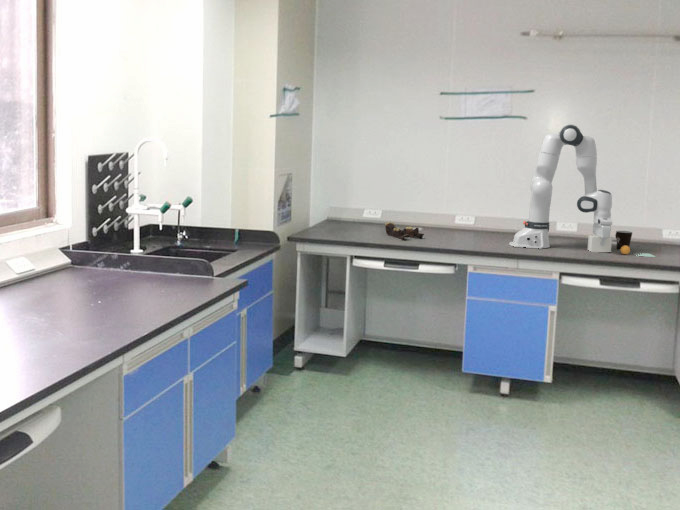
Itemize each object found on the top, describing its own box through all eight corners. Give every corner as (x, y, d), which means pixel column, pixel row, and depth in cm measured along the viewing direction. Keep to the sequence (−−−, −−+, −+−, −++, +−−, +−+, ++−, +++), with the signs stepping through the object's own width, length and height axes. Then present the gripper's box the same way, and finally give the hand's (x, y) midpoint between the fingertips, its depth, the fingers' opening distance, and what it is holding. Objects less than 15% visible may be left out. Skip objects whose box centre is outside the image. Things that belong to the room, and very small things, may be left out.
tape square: (637, 256, 426) (637, 256, 426) (631, 253, 436) (631, 252, 436) (655, 257, 426) (655, 256, 426) (649, 253, 436) (649, 253, 436)
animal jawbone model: (404, 238, 484) (408, 222, 483) (425, 247, 463) (429, 230, 462) (380, 233, 476) (384, 217, 475) (400, 242, 455) (405, 225, 453)
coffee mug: (631, 250, 445) (633, 233, 443) (615, 249, 446) (617, 232, 445) (628, 247, 456) (630, 230, 454) (613, 246, 458) (614, 229, 456)
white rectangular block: (590, 252, 435) (592, 236, 434) (587, 250, 442) (588, 234, 441) (610, 252, 435) (612, 237, 434) (606, 250, 442) (608, 235, 440)
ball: (621, 255, 429) (622, 246, 428) (618, 253, 434) (619, 244, 433) (631, 255, 429) (631, 246, 428) (627, 253, 434) (628, 244, 433)
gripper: (590, 217, 446) (588, 241, 448) (601, 221, 426) (599, 247, 428) (602, 217, 446) (600, 241, 448) (613, 222, 426) (611, 247, 428)
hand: (599, 244), depth 438 cm, fingers closed on white rectangular block, 7 cm apart
